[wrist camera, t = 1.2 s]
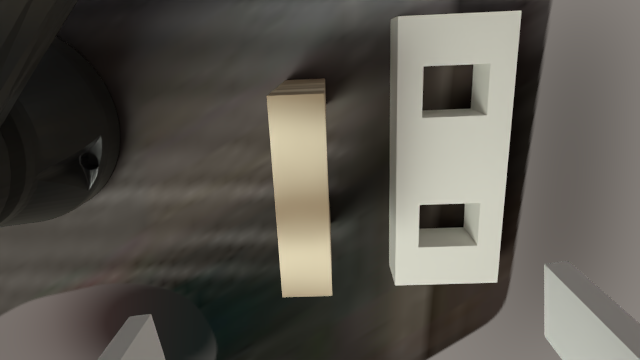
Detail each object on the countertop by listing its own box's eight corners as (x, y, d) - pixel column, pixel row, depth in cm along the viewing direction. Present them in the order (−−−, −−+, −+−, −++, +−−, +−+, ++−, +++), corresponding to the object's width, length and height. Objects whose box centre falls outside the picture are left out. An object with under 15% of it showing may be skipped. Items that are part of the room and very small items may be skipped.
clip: (285, 80, 33) (266, 95, 22) (325, 78, 33) (324, 93, 22) (295, 224, 36) (282, 297, 26) (330, 223, 36) (332, 295, 26)
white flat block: (390, 19, 31) (398, 16, 28) (500, 14, 31) (521, 10, 28) (389, 264, 37) (395, 285, 34) (481, 261, 37) (497, 282, 34)
